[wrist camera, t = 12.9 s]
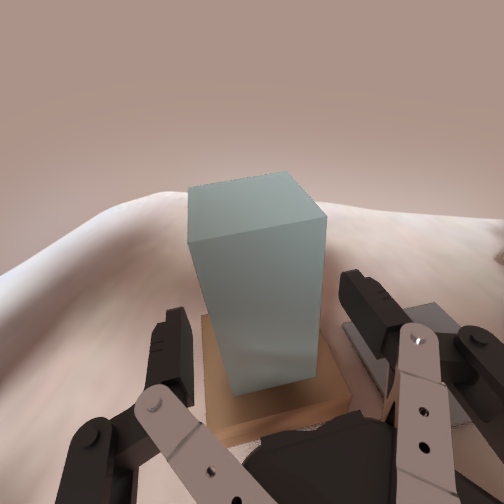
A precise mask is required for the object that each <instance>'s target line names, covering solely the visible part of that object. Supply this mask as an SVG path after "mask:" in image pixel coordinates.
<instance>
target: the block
mask: <svg viewBox="0 0 504 504" xmlns="http://www.w3.org/2000/svg"><path fill="white" fill-rule="evenodd" d="M326 227H327V215H326V214H325V213H324V212H323V211H322V210H321V209H320V208H319V206H318V205H317V204H316V203H315V202H314V201H313V200H312V199H311V197H310V196H309V195H308V194H307V193H306V192H305V191H304V190H303V189H302V187H301V186H300V185H299V184H298V183H297V182H296V181H295V180H294V179H293V177H292V176H291V175H290V174H289V173H288V172H287V171H283V172H278V173H271V174H265V175H259V176H253V177H247V178H242V179H236V180H230V181H224V182H218V183H212V184H206V185H200V186H194V187H189V188H188V239H187V243H188V246H189V250H190V253H191V256H192V260H193V263H194V266H195V270H196V273H197V276H198V280H199V283H200V287H201V290H202V293H203V297H204V300H205V303H206V307H207V310H208V313H209V317H210V320H211V324H212V327H213V330H214V334H215V337H216V340H217V344H218V347H219V350H220V354H221V357H222V361H223V364H224V367H225V371H226V374H227V377H228V381H229V384H230V387H231V391H232V394H233V397H235V396H239V395H243V394H247V393H251V392H255V391H260V390H264V389H268V388H272V387H276V386H280V385H284V384H288V383H292V382H296V381H300V380H304V379H309V378H313V377H316V365H317V351H318V337H319V323H320V310H321V296H322V282H323V268H324V255H325V241H326Z"/></svg>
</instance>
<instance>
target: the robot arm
mask: <svg viewBox="0 0 504 504" xmlns="http://www.w3.org/2000/svg"><path fill="white" fill-rule="evenodd" d="M338 295H339V300H340V303H341V305H342V307H343V308H344V310H345V311H346V313H347V314H348V316H349V318H350V319H351V321H352V322H353V324H354V325H355V327H356V328H357V330H358V332H359V333H360V335H361V336H362V338H363V339H364V341H365V342H366V344H367V346H368V347H369V349H370V350H371V352H372V353H373V355H374V356H375V358H376V360H379V359H383V358H386V360H387V361H388V368H387V379H386V389H385V400H384V407H383V412H382V416H381V421H380V420H376V419H373V418H367V417H363V415H362V413H361V411H360V410H358V411H354V412H351V413H347V414H343V415H340V416H336V417H335V418H333V419H332V420H330V421H329V422H327V423H326V424H324V425H322V426H321V427H319V428H318V429H316V430H314V431H291V430H285V431H281V432H278V433H274V434H270V435H267V436H263V437H260V438H261V443H262V444H261V445H260V446H258V447H257V448H256V449H254V450H253V451H252V452H251V453H250V454H249V455H248V456H247V457H246V459H245V460H244V462H243V463H242V465H241V464H240V462H239V461H238V460H237V459H236V458H235V457H234V456H233V455H232V454H231V453H230V452H229V450H228V449H227V448H226V447H225V446H224V445H223V444H222V443H221V442H220V441H219V440H218V438H217V437H216V436H215V435H214V434H213V433H212V432H211V431H210V430H209V429H208V428H207V427H206V426H205V425H204V424H203V423H202V422H199V421H198V420H197V419H196V418H195V417H194V416H193V414H192V413H191V412H190V411H189V410H188V409H187V408H188V407H192V406H194V367H193V335H192V329H191V326H190V323H189V320H188V318H187V315H186V312H185V310H184V307H178V308H173V309H169V310H167V311H166V322H161V323H157V325H156V327H155V329H154V330H153V332H152V336H151V343H150V344H151V346H150V351H149V352H150V354H149V359H148V367H147V374H146V382H145V388H144V391H143V392H142V393H141V395H140V396H139V397H138V399H137V401H136V403H135V404H134V405H133V406H131V407H130V408H129V409H127V410H125V411H124V412H122V413H120V414H119V415H117V416H115V417H113V418H112V419H110V420H108V419H107V418H104V417H97V418H94V419H91V420H89V421H88V422H86V423H85V424H84V425H82V426H81V427H80V428H79V429H78V431H77V432H76V433H75V435H74V436H73V438H72V440H71V443H70V446H69V450H68V454H67V458H66V462H65V466H64V470H63V474H62V478H61V482H60V485H59V489H58V493H57V497H56V501H55V504H136V502H137V487H138V472H139V466H141V465H142V464H144V463H145V462H147V461H148V460H150V459H151V458H152V457H154V456H155V455H157V454H158V453H160V452H161V453H162V454H163V455H164V457H165V458H166V460H167V462H168V463H169V465H170V466H171V468H172V469H173V470H174V472H175V473H176V475H177V476H178V477H179V479H180V480H181V482H182V483H183V484H184V486H185V487H186V488H187V490H188V491H189V493H190V494H191V495H192V497H193V498H194V500H195V501H196V502H197V504H503V503H502V502H501V501H499V500H498V499H496V498H495V497H493V496H492V495H490V494H489V493H488V492H486V491H485V490H483V489H482V488H480V487H479V486H478V485H476V484H475V483H473V482H472V481H470V480H469V479H468V478H466V477H465V476H463V475H462V474H460V473H459V472H457V471H456V470H455V469H454V460H453V448H452V436H451V423H450V411H449V399H448V390H447V388H448V389H449V390H450V392H451V393H452V394H453V396H454V397H455V399H456V400H457V401H458V403H459V404H460V405H461V407H462V408H463V409H464V411H465V412H466V413H467V415H468V416H469V418H470V419H471V420H472V422H473V423H474V424H475V426H476V427H477V428H478V430H479V431H480V432H481V434H482V435H483V437H484V438H485V439H486V441H487V442H488V443H489V445H490V446H491V447H492V449H493V450H494V451H495V453H496V454H497V456H498V457H499V458H500V460H501V461H502V462H503V464H504V344H503V343H502V342H501V341H499V340H498V339H497V338H496V337H495V336H494V335H493V334H492V333H490V332H489V331H487V330H485V329H483V328H480V327H477V326H463V327H461V328H460V329H459V331H458V333H457V334H456V333H438V332H433V331H432V330H431V329H430V328H428V327H426V326H424V325H422V324H419V323H414V322H413V321H412V320H411V318H410V317H409V316H408V315H407V314H406V313H405V312H404V310H403V309H402V308H401V307H400V306H399V305H398V304H397V303H396V301H395V300H394V299H393V298H391V296H390V295H389V293H388V292H386V290H385V289H384V288H383V287H382V285H381V284H380V283H379V282H377V281H375V280H374V279H372V278H370V277H366V278H365V277H364V276H363V275H362V274H361V272H360V271H359V270H357V269H355V270H350V271H345V272H342V273H341V277H340V285H339V293H338ZM441 382H443V383H444V384H445V385H444V384H442V383H441ZM446 386H447V387H446Z"/></svg>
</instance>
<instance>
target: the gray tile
mask: <svg viewBox="0 0 504 504" xmlns="http://www.w3.org/2000/svg"><path fill="white" fill-rule="evenodd" d="M403 310H404V312H405V313H406V314H407V315H408V316H409V317H410V318H411V320H412V321H413V322H414V323H419V324H422V325H424V326H426V327H428V328H430V329H431V330H432V331H433V332H438V333H456V334H457V333H458V331H459V329H460V328H461V327H460V326H459V325H458V324H457V323H456V322H455V321H454V320H453V319H452V318H451V317H450V316H449V315H448V314H447V313H446V312H445V311H444V310H442V309H441V308H440V307H439V306H438V305H437V304H436V303H435V302H433V303H429V304H425V305H421V306H416V307H412V308H408V309H403ZM342 327H343V329H344V330H345V332H346V334H347V335H348V337H349V339H350V341H351V342H352V344H353V346H354V348H355V349H356V351H357V353H358V354H359V356H360V358H361V360H362V361H363V363H364V365H365V366H366V368H367V370H368V372H369V373H370V375H371V377H372V378H373V380H374V382H375V384H376V385H377V387H378V389H379V390H380V392H381V394H382V396H383V397H384V399H385V389H386V379H387V368H388V361H387V360H386V358H383V359H379V360H376V358H375V356H374V355H373V353H372V352H371V350H370V349H369V347H368V346H367V344H366V342H365V341H364V339H363V338H362V336H361V335H360V333H359V332H358V330H357V328H356V327H355V325H354V324H353V322H347V323H343V325H342ZM441 383H442V384H444V383H443V382H441ZM444 385H445V384H444ZM446 387H447V386H446ZM447 390H448V399H449V411H450V423H451V427H454V426H457V425H461V424H464V423H468V422H471V421H472V420H471V419H470V418H469V416H468V415H467V413H466V412H465V411H464V409H463V408H462V407H461V405H460V404H459V403H458V401H457V400H456V399H455V397H454V396H453V394H452V393H451V392H450V390H449V389H448V388H447Z"/></svg>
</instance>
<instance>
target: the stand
mask: <svg viewBox="0 0 504 504" xmlns="http://www.w3.org/2000/svg"><path fill="white" fill-rule="evenodd" d="M201 323H202V343H203V363H204V382H205V402H206V422H207V428H208V429H209V430H210V431H211V432H212V433H213V434H214V435H215V436H216V437H217V438H218V440H219V441H220V442H221V443H222V444H223V445H224V446H225V447H226V448H228V447H232V446H236V445H240V444H243V443H247V442H251V441H255V440H258V439H261V438H260V437H263V436H267V435H270V434H274V433H278V432H281V431H285V430H291V431H292V430H296V429H300V428H303V427H307V426H311V425H315V424H318V423H322V422H326V421H329V420H332V419H333V418H335V417H336V416H340V415H343V414H347V413H348V409H349V405H350V401H351V397H352V393H351V391H350V389H349V387H348V385H347V383H346V381H345V379H344V377H343V375H342V373H341V371H340V369H339V367H338V365H337V363H336V361H335V359H334V357H333V355H332V353H331V351H330V349H329V347H328V345H327V343H326V341H325V339H324V337H323V335H322V333H321V331H320V328H319V337H318V351H317V365H316V377H313V378H309V379H304V380H300V381H296V382H292V383H288V384H284V385H280V386H276V387H272V388H268V389H264V390H260V391H255V392H251V393H247V394H243V395H239V396H235V397H233V394H232V391H231V387H230V384H229V381H228V377H227V374H226V371H225V367H224V364H223V361H222V357H221V354H220V350H219V347H218V344H217V340H216V337H215V334H214V330H213V327H212V324H211V320H210V317H209V314H206V315H201Z"/></svg>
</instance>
